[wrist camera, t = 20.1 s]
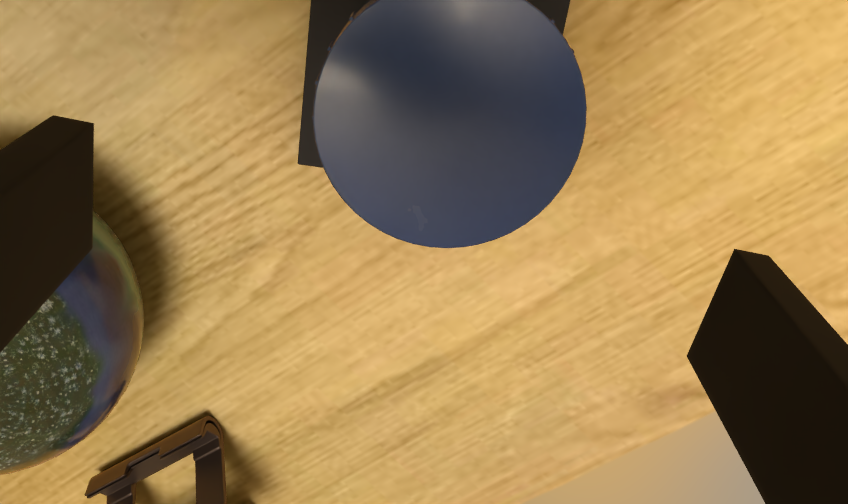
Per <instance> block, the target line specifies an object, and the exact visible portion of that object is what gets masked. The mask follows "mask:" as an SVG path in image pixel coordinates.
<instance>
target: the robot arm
mask: <svg viewBox="0 0 848 504" xmlns="http://www.w3.org/2000/svg"><path fill="white" fill-rule="evenodd" d="M93 141H94V123H89V122H84V121H79V120H74V119H69V118H64V117H58V116H51V117H50V118H48V119H47V120H45V121H44V122H42V123H41V124H39V125H38V126H36V127H35V128H33V129H32V130H30V131H29V132H27V133H26V134H24V135H23V136H21V137H19V138H18V139H16V140H15V141H13V142H12V143H10V144H9V145H7V146H6V147H4V148H3V149H1V150H0V353H1V351H2V350H3V349H4V348H5V347H6V346H7V345H8V343H9V342H10V341H11V340H12V339H13V338H14V337H15V336H16V334H17V333H18V332H19V331H20V330H21V329H22V328H23V326H24V325H25V324H26V323H27V322H28V321H29V320H30V319H31V317H32V316H33V315H34V314H35V313H36V312H37V311H38V309H39V308H40V307H41V306H42V305H43V304H44V303H45V302H46V300H47V299H48V298H49V297H50V296H51V295H52V294H53V292H54V291H55V290H56V289H57V288H58V287H59V286H60V285H61V283H62V282H63V281H64V280H65V279H66V278H67V277H68V276H69V274H70V273H71V272H72V271H73V270H74V269H75V268H76V266H77V265H78V264H79V263H80V262H81V261H82V260H83V259H84V257H85V256H86V255H87V254H88V253H89V252H90V251H91V249H92V248H93ZM687 358H688V359H689V361H690V363H691V365H692V367H693V369H694V371H695V373H696V374H697V376H698V378H699V380H700V382H701V384H702V386H703V387H704V389H705V391H706V393H707V395H708V397H709V399H710V401H711V402H712V404H713V406H714V408H715V410H716V412H717V414H718V416H719V417H720V419H721V421H722V423H723V425H724V427H725V429H726V430H727V432H728V434H729V436H730V438H731V440H732V442H733V444H734V446H735V447H736V449H737V451H738V453H739V455H740V457H741V459H742V461H743V462H744V464H745V466H746V468H747V470H748V472H749V473H750V475H751V477H752V479H753V481H754V483H755V485H756V487H757V489H758V491H759V492H760V494H761V496H762V498H763V500H764V502H765V504H848V345H847V344H846V342H845V341H844V340H843V339H842V338H841V337H840V336H839V334H838V333H837V332H836V331H835V330H834V329H833V328H832V327H831V325H830V324H829V323H828V322H827V321H826V320H825V319H824V318H823V316H822V315H821V314H820V313H819V312H818V311H817V310H816V308H815V307H814V306H813V305H812V304H811V303H810V302H809V301H808V299H807V298H806V297H805V296H804V295H803V294H802V293H801V292H800V290H799V289H798V288H797V287H796V286H795V285H794V284H793V283H792V281H791V280H790V279H789V278H788V277H787V276H786V275H785V273H784V272H783V271H782V270H781V269H780V268H779V267H778V266H777V264H776V263H775V262H774V261H773V260H772V259H771V258H770V257H769V256H767V255H762V254H757V253H752V252H747V251H742V250H737V249H734V251H733V253H732V256H731V258H730V260H729V262H728V265H727V267H726V269H725V271H724V274H723V276H722V278H721V280H720V283H719V285H718V287H717V289H716V292H715V294H714V296H713V298H712V300H711V303H710V305H709V307H708V309H707V312H706V314H705V316H704V318H703V321H702V323H701V325H700V327H699V330H698V332H697V334H696V336H695V339H694V341H693V343H692V345H691V348H690V350H689V352H688V354H687Z"/></svg>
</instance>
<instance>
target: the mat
mask: <svg viewBox="0 0 848 504" xmlns="http://www.w3.org/2000/svg"><path fill="white" fill-rule="evenodd" d="M362 1H363V0H311V8H310V21H309V33H308V45H307V57H306V69H305V81H304V94H303V106H302V118H301V130H300V142H299V154H298V164H301V165H308V166H316V167H323V165H322V162H321V160H320V157H319V153H318V149H317V146H316V142H315V135H314V126H313V120H312V116H313V104H314V98H315V91H316V86H317V85H316V84H315V81H316V79H317V77H318V75H319V74H320V72H321V69H322V67H323V65H324V62H325V60H326V58H327V56H328V54H329V51H328V50H327V49H328V47H329V45H330V44H331V42H332V40H333V41H336V39H337V37H338V36H339V34H340V33H341V31H342V29H343V28H344V27H345V25H346V24H347V23H348V22H349V21H350V20H349V18H350V16H351V14H352V13H353V12H355V13H357V12H358V10H359V8H360V5H361V3H362ZM527 1H528V2H529V3H531V4H532V5H533V6H535V7H536V8H537V9H539V10H540V11H541V12H542V13H543V14H544V15H545V14H546V15H548V16H549V17H550V18H552V19H553V20H554V21H555V23H554V25H555V26H556V27H557V29H558V30H559V31H560V33H561V34H562V35H563V31H564V27H565V22H566V17H567V13H568V8H569V4H570V0H527ZM323 168H324V167H323Z"/></svg>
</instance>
